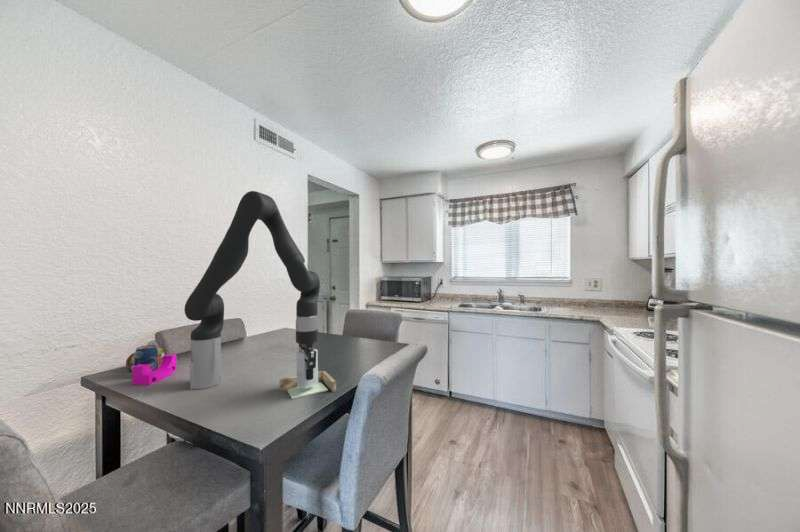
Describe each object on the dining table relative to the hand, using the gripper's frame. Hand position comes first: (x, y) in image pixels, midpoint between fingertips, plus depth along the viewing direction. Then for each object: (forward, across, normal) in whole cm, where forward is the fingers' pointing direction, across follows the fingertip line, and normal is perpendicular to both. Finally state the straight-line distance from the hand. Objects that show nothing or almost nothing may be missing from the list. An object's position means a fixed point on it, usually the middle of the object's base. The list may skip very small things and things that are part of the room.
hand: (307, 376), depth 102 cm
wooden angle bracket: (+5, 0, 0) cm, 5 cm away
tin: (+5, +60, +52) cm, 80 cm away
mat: (+5, 0, 0) cm, 5 cm away
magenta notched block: (+5, +42, +46) cm, 62 cm away
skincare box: (+3, 0, 0) cm, 3 cm away
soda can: (+5, +47, +50) cm, 69 cm away
